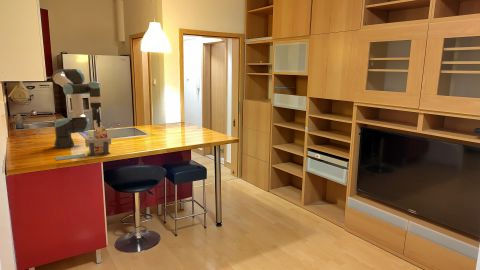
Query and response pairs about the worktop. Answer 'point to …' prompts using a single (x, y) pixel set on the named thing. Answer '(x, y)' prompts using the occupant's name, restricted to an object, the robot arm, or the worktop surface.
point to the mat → (70, 157)
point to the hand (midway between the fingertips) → (97, 129)
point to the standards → (92, 152)
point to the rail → (97, 141)
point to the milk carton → (100, 135)
